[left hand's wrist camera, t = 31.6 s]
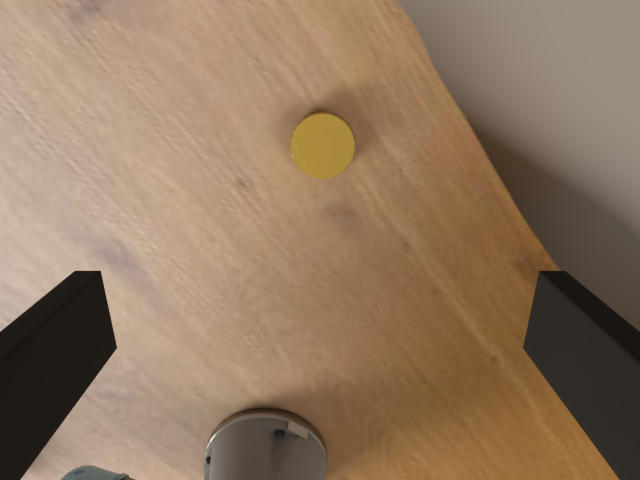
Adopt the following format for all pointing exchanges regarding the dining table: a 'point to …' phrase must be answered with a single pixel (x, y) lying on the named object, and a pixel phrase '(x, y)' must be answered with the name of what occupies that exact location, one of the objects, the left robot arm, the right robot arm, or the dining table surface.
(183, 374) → the dining table surface
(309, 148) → the lid
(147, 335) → the dining table surface
